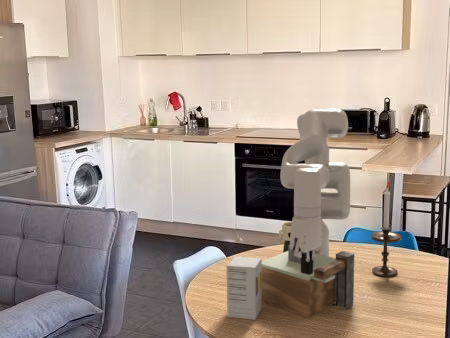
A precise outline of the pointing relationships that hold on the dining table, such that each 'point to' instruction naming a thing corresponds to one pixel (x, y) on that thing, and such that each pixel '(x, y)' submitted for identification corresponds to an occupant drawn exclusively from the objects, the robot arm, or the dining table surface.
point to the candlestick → (385, 240)
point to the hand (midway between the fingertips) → (306, 273)
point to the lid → (296, 265)
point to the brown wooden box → (309, 289)
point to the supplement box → (244, 288)
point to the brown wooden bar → (330, 269)
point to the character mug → (285, 234)
